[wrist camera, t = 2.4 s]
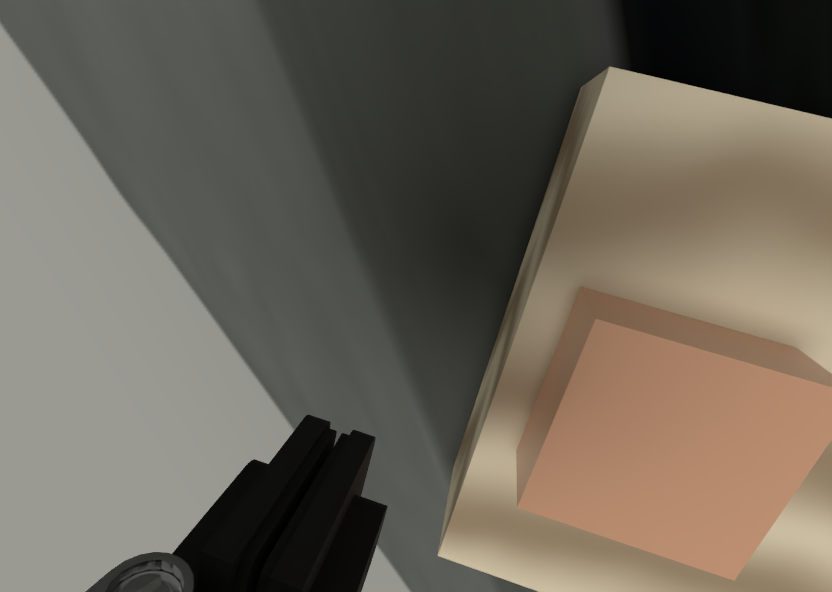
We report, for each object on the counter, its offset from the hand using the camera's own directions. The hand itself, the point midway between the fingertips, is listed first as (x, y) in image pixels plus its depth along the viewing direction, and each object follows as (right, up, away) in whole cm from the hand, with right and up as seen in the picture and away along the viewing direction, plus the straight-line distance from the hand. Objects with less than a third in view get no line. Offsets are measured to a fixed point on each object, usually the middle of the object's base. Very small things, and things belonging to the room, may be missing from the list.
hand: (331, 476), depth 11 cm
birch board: (+14, +1, +11) cm, 18 cm away
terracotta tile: (+10, 0, +6) cm, 12 cm away
